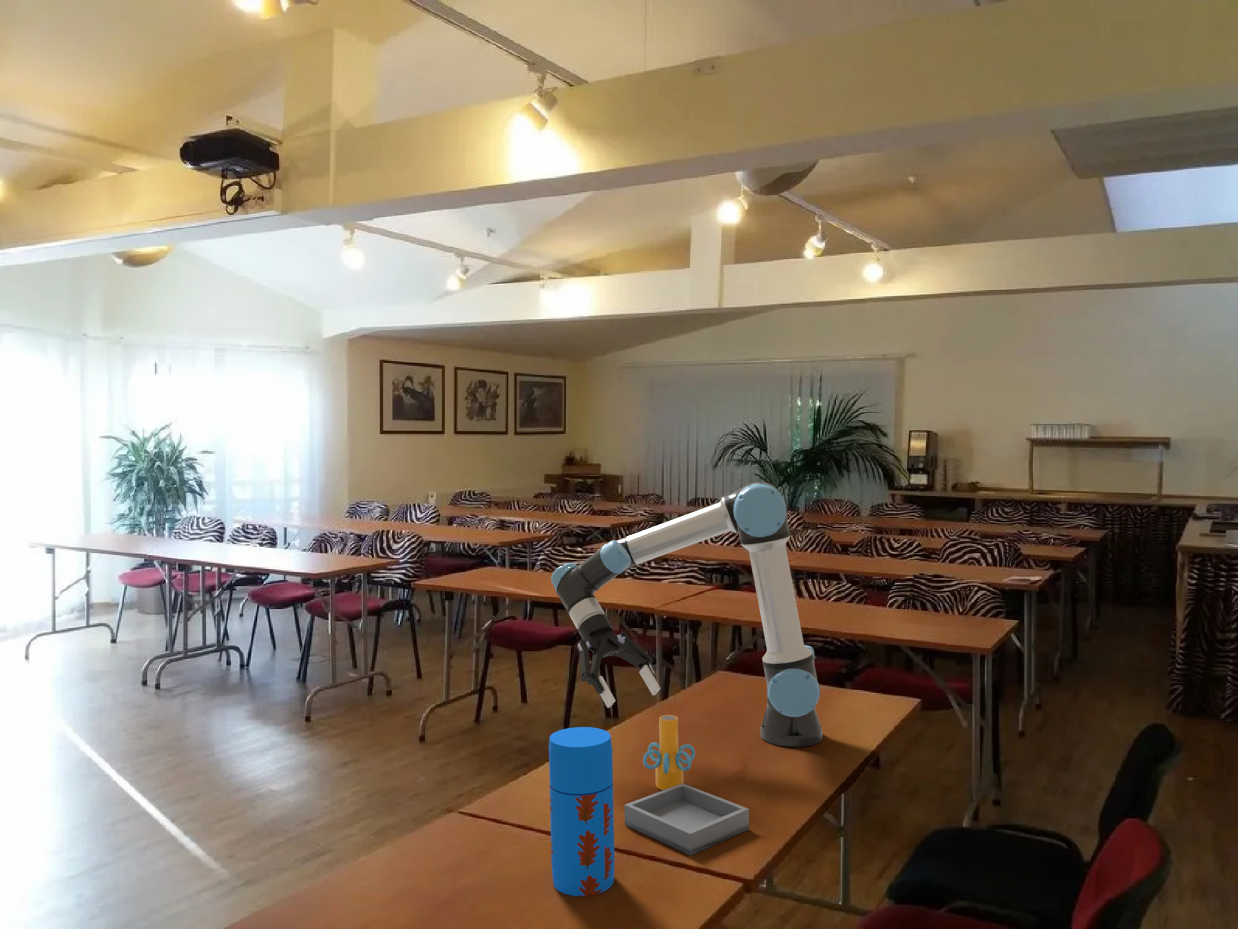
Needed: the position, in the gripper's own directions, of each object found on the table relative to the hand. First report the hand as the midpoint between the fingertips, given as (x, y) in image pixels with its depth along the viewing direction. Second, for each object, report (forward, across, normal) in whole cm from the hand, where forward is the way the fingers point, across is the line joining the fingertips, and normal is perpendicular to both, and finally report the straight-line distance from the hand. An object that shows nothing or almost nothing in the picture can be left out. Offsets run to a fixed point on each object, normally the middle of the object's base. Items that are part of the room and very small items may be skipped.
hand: (634, 698), depth 207 cm
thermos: (+34, +40, +10) cm, 53 cm away
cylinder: (+20, 0, -4) cm, 20 cm away
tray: (+32, +12, +8) cm, 35 cm away
